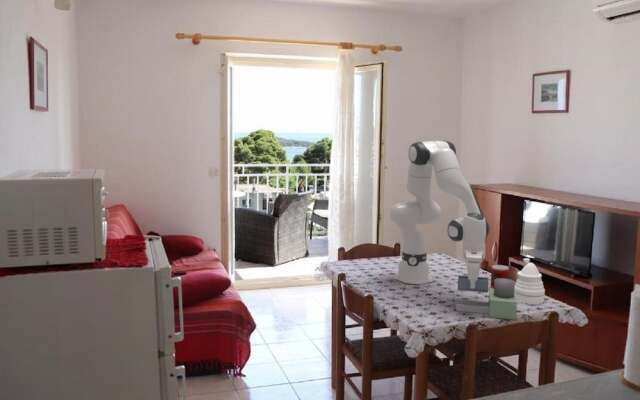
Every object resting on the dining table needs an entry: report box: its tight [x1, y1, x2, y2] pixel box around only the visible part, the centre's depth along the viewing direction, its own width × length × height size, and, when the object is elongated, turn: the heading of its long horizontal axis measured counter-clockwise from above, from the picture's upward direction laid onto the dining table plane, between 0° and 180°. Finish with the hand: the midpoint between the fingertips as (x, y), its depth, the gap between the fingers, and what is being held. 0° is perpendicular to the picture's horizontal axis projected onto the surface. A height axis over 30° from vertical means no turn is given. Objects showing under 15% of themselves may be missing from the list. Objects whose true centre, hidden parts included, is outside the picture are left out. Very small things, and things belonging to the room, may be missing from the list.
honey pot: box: [514, 258, 546, 305], centre depth 243 cm, size 13×13×18 cm
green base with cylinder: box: [455, 278, 518, 320], centre depth 229 cm, size 17×23×13 cm
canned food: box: [490, 264, 510, 289], centre depth 258 cm, size 8×8×11 cm
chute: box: [457, 274, 489, 294], centre depth 229 cm, size 5×12×5 cm, turn 74°
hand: (472, 285), depth 229 cm, fingers closed on chute, 5 cm apart
